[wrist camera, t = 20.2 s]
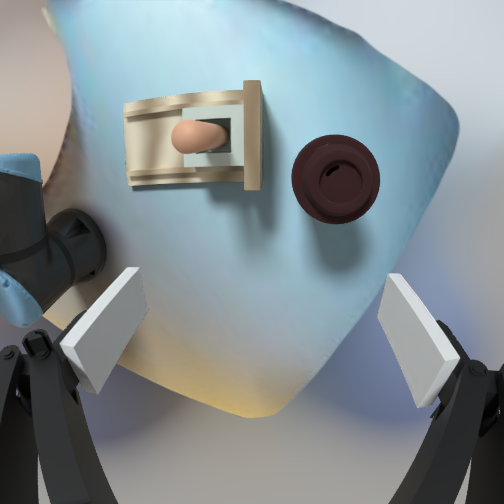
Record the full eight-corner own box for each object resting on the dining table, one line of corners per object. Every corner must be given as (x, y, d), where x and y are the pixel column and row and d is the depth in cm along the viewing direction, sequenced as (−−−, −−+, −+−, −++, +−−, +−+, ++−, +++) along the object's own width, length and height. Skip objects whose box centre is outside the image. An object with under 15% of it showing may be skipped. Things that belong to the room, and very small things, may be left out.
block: (194, 163, 40) (184, 167, 35) (193, 111, 37) (182, 108, 32) (248, 162, 40) (244, 165, 34) (247, 108, 36) (244, 104, 31)
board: (131, 184, 43) (106, 195, 36) (127, 104, 38) (100, 100, 30) (262, 180, 42) (260, 190, 34) (262, 91, 36) (260, 80, 29)
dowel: (207, 147, 38) (171, 155, 24) (207, 125, 36) (170, 121, 23) (230, 146, 37) (205, 153, 24) (229, 124, 36) (204, 118, 22)
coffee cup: (350, 197, 42) (384, 227, 28) (288, 200, 43) (296, 232, 29) (347, 134, 38) (384, 135, 24) (283, 136, 39) (289, 136, 25)
